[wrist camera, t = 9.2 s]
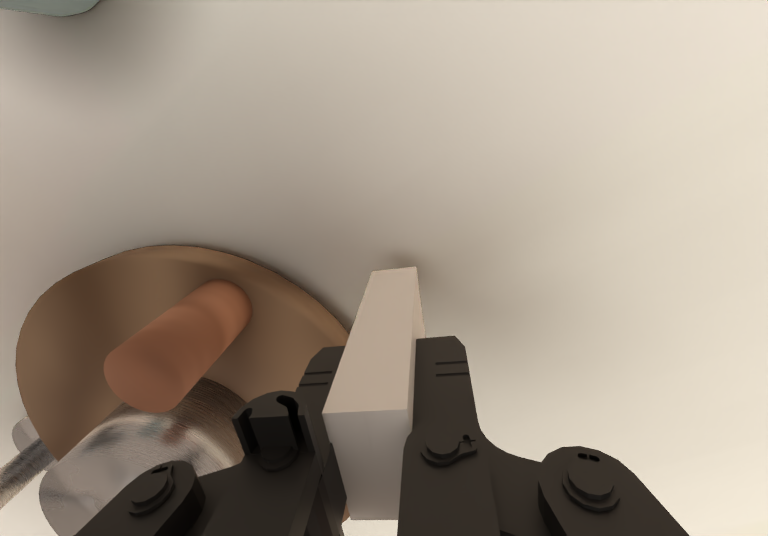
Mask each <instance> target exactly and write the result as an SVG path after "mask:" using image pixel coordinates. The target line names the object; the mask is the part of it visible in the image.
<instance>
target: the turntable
mask: <svg viewBox="0 0 768 536" xmlns="http://www.w3.org/2000/svg"><path fill="white" fill-rule="evenodd" d="M348 338H349V334H348V333H347V331H346V330H345V329H344V328H343V326H342V325H341V324H340V323H339V322H338V320H337V319H336V318H335V317H334V316H333V315H331V314H330V313H329V312H328V311H327V310H326V309H325V308H324V307H323V306H322V305H321V304H320V303H319V302H318V301H316V300H315V299H314V298H313V297H311V296H310V295H309V294H307V293H306V292H305V291H303V290H302V289H301V288H299V287H298V286H297V285H295V284H293V283H292V282H290V281H288V280H287V279H285V278H283V277H282V276H280V275H278V274H277V273H275V272H273V271H271V270H269V269H266V268H264V267H262V266H260V265H258V264H255V263H253V262H251V261H249V260H246V259H243V258H239V257H236V256H233V255H230V254H227V253H224V252H220V251H215V250H210V249H205V248H200V247H190V246H176V245H166V246H149V247H143V248H138V249H133V250H129V251H124V252H122V253H119V254H116V255H114V256H111V257H108V258H106V259H103V260H101V261H99V262H96V263H94V264H92V265H89V266H87V267H85V268H82V269H80V270H78V271H76V272H73V273H72V274H70V275H68V276H67V277H65V278H63V279H62V280H60V281H58V282H57V283H55V284H54V285H53V286H52V287H50V288H49V289H48V290H47V291H46V292H45V293H44V294H43V295H42V296H40V298H39V299H38V300H37V302H36V303H35V304H34V306H33V307H32V308H31V310H30V311H29V313H28V315H27V317H26V319H25V321H24V323H23V326H22V328H21V331H20V335H19V339H18V343H17V348H16V373H17V381H18V387H19V390H20V394H21V398H22V401H23V404H24V407H25V409H26V411H27V414H28V416H29V419H30V421H31V423H32V424H33V426H34V428H35V430H36V431H37V433H38V435H39V437H40V438H41V440H42V441H43V443H44V444H45V445H46V447H47V448H48V450H49V451H50V452H51V454H52V455H53V456H54V457H55V459H56V460H57V461H58V462H59V461H60V460H61V459H62V458H63V457H64V456H65V455H66V454H67V453H68V452H69V451H71V450H72V449H73V448H74V447H75V446H76V445H77V444H78V443H79V442H80V441H81V440H82V439H83V438H85V437H86V436H87V435H88V434H89V433H90V432H91V431H92V430H93V429H94V428H95V427H96V426H97V425H99V424H100V423H101V422H102V421H103V420H104V419H105V418H106V417H107V416H108V415H109V414H110V413H111V412H113V411H114V410H115V409H116V408H117V407H118V406H119V405H120V404H121V403H122V402H123V401H124V402H125V403H127V404H128V405H130V406H132V407H134V408H136V409H139V410H142V411H145V412H151V413H161V412H166V411H169V410H171V409H173V408H174V407H175V406H177V405H178V403H179V402H180V401H181V400H182V399H183V398H184V397H185V395H186V394H187V393H188V392H189V391H190V390H191V389H192V387H193V386H194V385H195V384H196V383H197V382H198V381H199V379H200V378H201V377H204V378H207V379H210V380H212V381H215V382H217V383H219V384H221V385H223V386H225V387H227V388H228V389H230V390H231V391H233V392H234V393H236V394H237V395H238V396H240V397H241V398H242V399H243V400H244V401H245V402H246V403H248V402H250V401H251V400H252V399H254V398H257V397H259V396H261V395H264V394H266V393H270V392H275V391H280V390H283V391H293V392H295V391H296V389H297V387H299V382H300V380H301V378H302V376H304V372H305V370H306V368H307V366H308V364H309V362H310V359H311V358H313V357H314V356H315V355H316V354H317V353H318V352H319V351H320V350H321V349H322V348H323V347H335V346H346V344H347V341H348ZM349 516H350V514H349V511H348V507H347V503H346V505H345V510H344V515H343V520H342V523H343V522H344V521H345V520H347V519H348V517H349Z"/></svg>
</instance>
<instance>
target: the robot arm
mask: <svg viewBox="0 0 768 536" xmlns="http://www.w3.org/2000/svg"><path fill="white" fill-rule="evenodd" d="M231 420H232V423H233V425H234V428H235V431H236V433H237V436H238V438H239V441H240V443H241V446H242V449H243V451H244V454H245V455H244V457H243V459H242V461H241V463H239V464H237V465H234V466H232V467H228V468H225V469H222V470H219V471H215V472H212V473H209V474H206V475H203V476H199V477H198V476H197V474H196V472H195V469H194V467H193V465H191V464H189V463H188V462H186V461H169V462H166V463H162V464H159V465H156V466H155V467H153V468H151V469H149V470H147V471H145V472H144V473H142V474H140V475H139V476H138V477H137V478H135V479H134V480H133V481H132V482H130V483H129V484H128V485H127V486H125V487H124V488H123V489H122V490H121V491H120V492H119V493H118V494H117V495H116V496H115V497H114V498H113V499H112V500H111V501H110V502H109V503H108V504H107V505H106V506H105V507H103V508H102V509H101V510H100V511H99V512H98V513H97V514H96V515H95V516H94V517H93V518H92V519H91V520H90V521H89V522H88V523H87V524H86V525H85V526H84V527H83V528H82V529H80V530H79V531H78V532H77V533H76V534H75V535H74V536H344V533H343V530H342V526H341V525H342V520H343V515H344V510H345V505H346V503H347V507H348V511H349V514H350V518H351V520H398V532H397V536H689V535H688V534H687V532H686V531H685V530H684V529H683V528H682V527H681V526H680V525H679V523H678V522H677V521H676V520H675V519H674V518H673V517H672V516H671V514H670V513H669V512H668V511H667V510H666V509H665V508H664V507H663V506H662V504H661V503H660V502H659V501H658V500H657V499H656V498H655V497H654V495H653V494H652V493H651V492H650V491H649V490H648V489H647V488H646V486H645V485H644V484H643V483H642V482H641V481H640V480H639V479H638V477H637V476H636V475H635V474H634V473H633V472H631V471H630V470H629V469H628V468H627V467H626V466H624V465H623V464H622V463H621V462H620V461H619V460H617V459H615V458H613V457H611V456H609V455H607V454H605V453H603V452H601V451H599V450H594V449H590V448H585V447H581V446H574V447H561V448H559V449H557V450H555V451H553V452H550V453H548V454H547V456H546V457H545V458H544V460H543V461H542V462H537V461H533V460H529V459H525V458H521V457H518V456H515V455H512V454H509V453H506V452H505V451H503V450H501V449H499V448H498V447H496V446H495V445H493V444H492V443H491V442H490V441H489V440H488V439H487V438H486V437H485V435H484V434H483V433H482V431H481V429H480V426H479V423H478V419H477V413H476V408H475V402H474V396H473V390H472V385H471V379H470V374H469V367H468V362H467V356H466V350H465V346H464V345H463V344H462V343H461V342H460V341H459V340H458V339H457V338H456V337H455V336H446V337H433V338H426V336H425V328H424V321H423V314H422V306H421V299H420V291H419V284H418V277H417V269H416V266H415V267H406V268H396V269H387V270H378V271H372V273H371V276H370V278H369V281H368V284H367V287H366V290H365V293H364V295H363V298H362V301H361V304H360V307H359V310H358V312H357V315H356V318H355V321H354V324H353V327H352V329H351V332H350V335H349V338H348V341H347V344H346V346H335V347H323V348H322V349H321V350H320V351H319V352H318V353H317V354H316V355H315V356H314V357H313V358H311V359H310V362H309V364H308V366H307V368H306V370H305V372H304V376H302V378H301V380H300V382H299V387H297V389H296V391H295V392H293V391H283V390H280V391H275V392H270V393H266V394H264V395H261V396H259V397H257V398H254V399H252V400H251V401H250V402H248V403H247V404H245V405H244V406H242V407H241V408H240V409H239V410H238V411H237V412H236V414H235V415H234V416H233V417H232V418H231Z"/></svg>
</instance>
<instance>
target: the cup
mask: <svg viewBox="0 0 768 536" xmlns="http://www.w3.org/2000/svg"><path fill="white" fill-rule="evenodd" d="M98 1H99V0H0V8H2V9H8V10H15V11H22V12H29V13H37V14H44V15H52V16H69V15H74V14H79V13H83V12H86V11H88V10H89V9H91V8H92V7H93V6H94V5H95V4H96V3H97V2H98Z"/></svg>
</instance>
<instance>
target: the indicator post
mask: <svg viewBox="0 0 768 536" xmlns="http://www.w3.org/2000/svg"><path fill="white" fill-rule="evenodd" d="M12 437H13V441H14V443H15V445H16V447H17V449H18V450H19V451H20V453H19V454H18V455H17V456H15V457H14V458H13V459H12V460H10V461H9V462H8V463H7V464H6V465H4V466H3V467H2V468H1V469H0V509H1V508H2V507H4V506H5V505H6V504H7V503H8V502H9V501H10V500H11V499H12V498H13V497H14V496H16V495H17V494H18V493H19V492H20V491H21V490H22V489H23V488H24V487H25V486H26V485H28V484H29V483H30V482H31V481H32V480H33V479H34V478H35V477H36V476H37V475H38V474H40V473H41V472H42V471H43V470H46V471H49V470H50V469H51V468H52V467H53V466H54V465H56V464H57V463H58V461H57V460H56V459H55V457H54V456H53V455H52V454H51V452H50V451H49V450H48V448H47V447H46V445H45V444H44V443H43V441H42V440H41V438H40V437H39V435H38V433H37V431H36V430H35V428H34V426H33V424H32V423H31V421H30V419H29V416H26V417H25V418H24V419H22V420H21V421H20V422H18V423H17V424H16V425H15V426H14V428H13V432H12Z"/></svg>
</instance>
